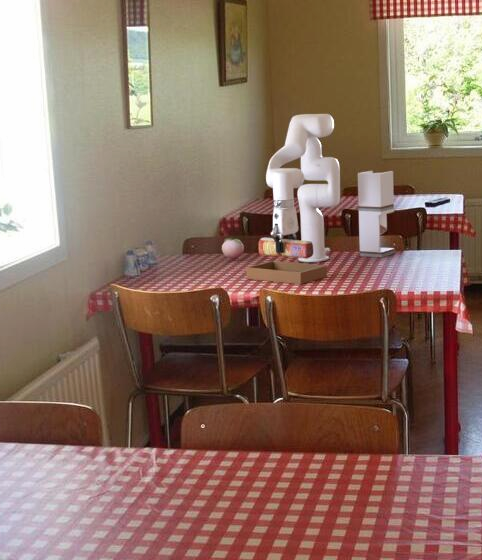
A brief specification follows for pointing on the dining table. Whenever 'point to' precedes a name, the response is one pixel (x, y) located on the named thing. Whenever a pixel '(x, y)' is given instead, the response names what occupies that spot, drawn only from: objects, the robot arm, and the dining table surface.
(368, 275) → the dining table surface
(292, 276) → the brown cardboard tray
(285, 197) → the robot arm
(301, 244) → the snack package
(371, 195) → the coffee grinder
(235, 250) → the decorative fruit
